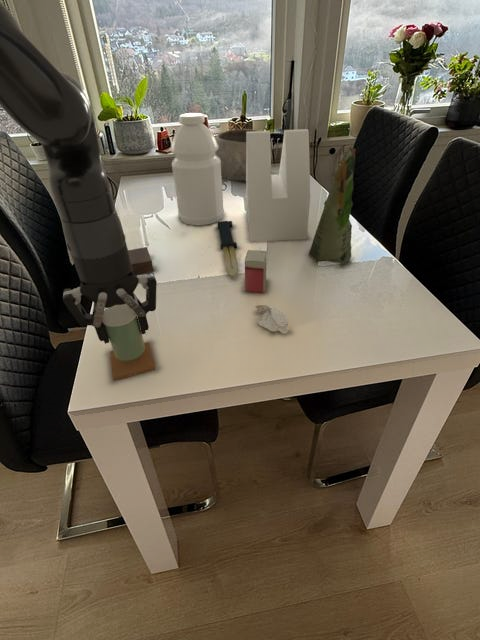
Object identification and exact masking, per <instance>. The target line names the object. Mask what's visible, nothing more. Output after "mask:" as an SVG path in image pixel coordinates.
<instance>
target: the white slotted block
mask: <svg viewBox="0 0 480 640" xmlns="http://www.w3.org/2000/svg"><path fill="white" fill-rule="evenodd" d="M283 133H284V134H283V139H282V146H281V154H280V155H281V156H280V162H279V163H280V164H279V170H278V174H272V159H271V147H270V141H271V131H270V130H258V131H251V132H246V181H245V184H246V185H245V188H246V190H245V191H246V192H245V193H246V195H245V196H246V220H247V226H248V235H249V242H251V243H252V242H274V241H295V240H298V241H299V240H307V239H308V231H309V217H310V206H311V169H310V165H311V164H310V130H309V129H308V128H304V129H303V128H301V129H299V128H298V129H284V131H283Z"/></svg>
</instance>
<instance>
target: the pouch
mask: <svg viewBox="0 0 480 640" xmlns="http://www.w3.org/2000/svg"><path fill="white" fill-rule="evenodd" d="M356 151H357V150H356V148H355V147H352V146H350V147H349V148H348V149H347V152H346V154H344V156H343V157H342V158H341V160H339V162H338V163H337V165H336V168H335V170H334V172H333V173H332V174H333V175H332V180H331V183H330V187H329V191H328V195H327V197H326V199H325V200H324V202H323V205H324V206H323V210H322V212H321V215H320V218H319V221H318V225H317V227H316V231H315V233H314V235H313V240H312V243H311V247H310V249H309V251H308V255H309V256H310V257H312V258H313V259H314V261H315V264H317V263H324V262H331V263H337V264H340V265H341V266H346V265H347V264H348V263H349V262H350V260H351V258H352V234H353V233H352V228H353V225H352V223H351V220H350V217H351V216H350V215H351V211H352V208H353V206H354V202H353V199H352V196H353V191H354V187H355V186H354V171H355V163H356Z"/></svg>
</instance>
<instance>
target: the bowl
mask: <svg viewBox="0 0 480 640" xmlns="http://www.w3.org/2000/svg"><path fill="white" fill-rule="evenodd" d="M251 131H259V130H257V129H251V128H238V129H237V128H236V129H230V130H226V131H222V132H220V133H218V134H217V135H216V136H215V139H216V141H217V144H218V146H219V149H218V150H217V151H216V155H217V156H218V158H220V161H221V178H223V179H226V180H227V179H228V180H231V181H237V182H246V132H251ZM270 147H271V160H272V158H273V150H274V146H273V143H272V141H271V140H270Z"/></svg>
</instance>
